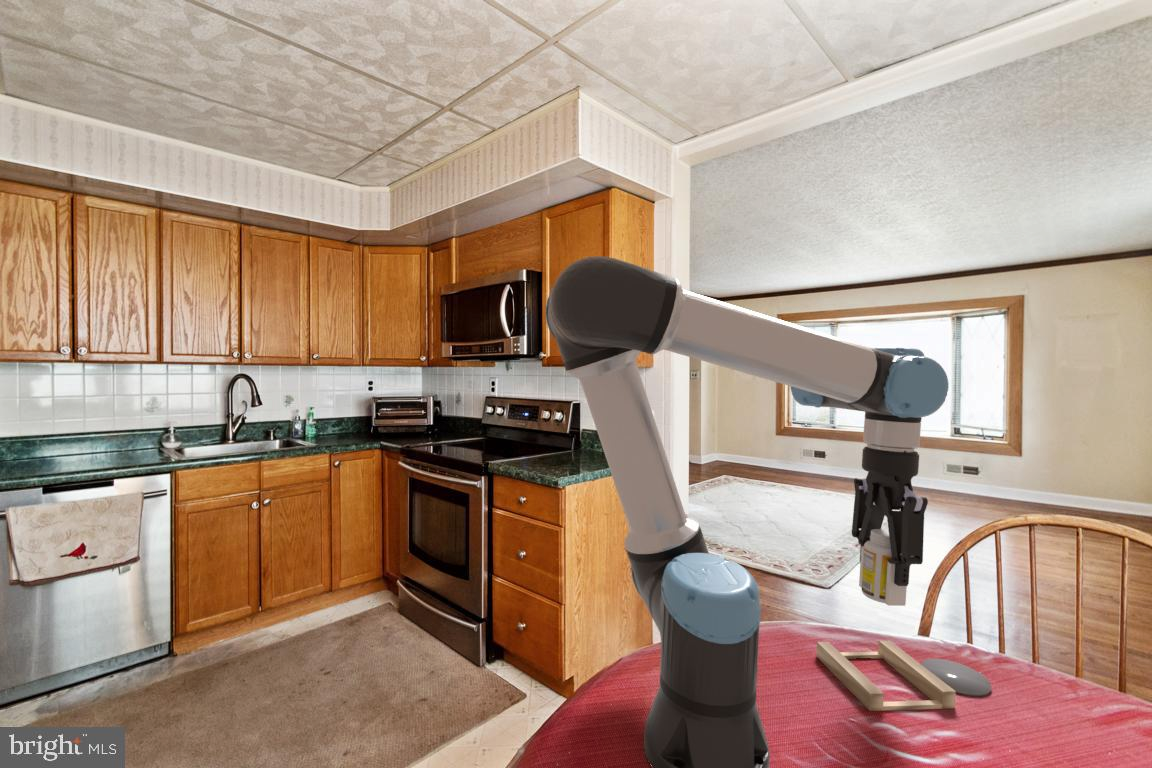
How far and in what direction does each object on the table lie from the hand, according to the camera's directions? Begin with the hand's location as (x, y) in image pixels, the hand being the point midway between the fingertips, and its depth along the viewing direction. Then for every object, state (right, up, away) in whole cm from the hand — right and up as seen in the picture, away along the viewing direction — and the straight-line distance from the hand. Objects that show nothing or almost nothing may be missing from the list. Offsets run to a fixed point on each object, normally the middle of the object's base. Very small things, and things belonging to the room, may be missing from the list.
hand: (881, 595), depth 81 cm
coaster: (+13, -14, +2) cm, 19 cm away
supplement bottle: (0, -1, 0) cm, 1 cm away
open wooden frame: (0, -14, 0) cm, 14 cm away
